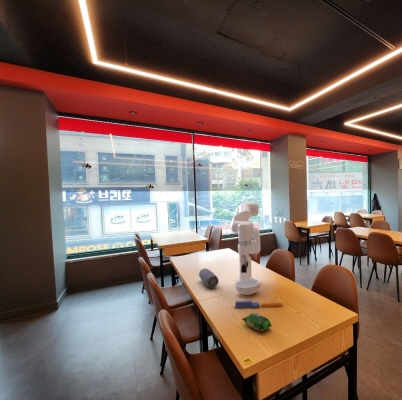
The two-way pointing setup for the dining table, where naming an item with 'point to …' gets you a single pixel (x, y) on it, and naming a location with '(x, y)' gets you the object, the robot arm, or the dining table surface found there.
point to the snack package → (257, 322)
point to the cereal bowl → (248, 286)
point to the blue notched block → (246, 304)
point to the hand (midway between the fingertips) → (244, 269)
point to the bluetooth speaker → (208, 278)
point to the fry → (271, 304)
